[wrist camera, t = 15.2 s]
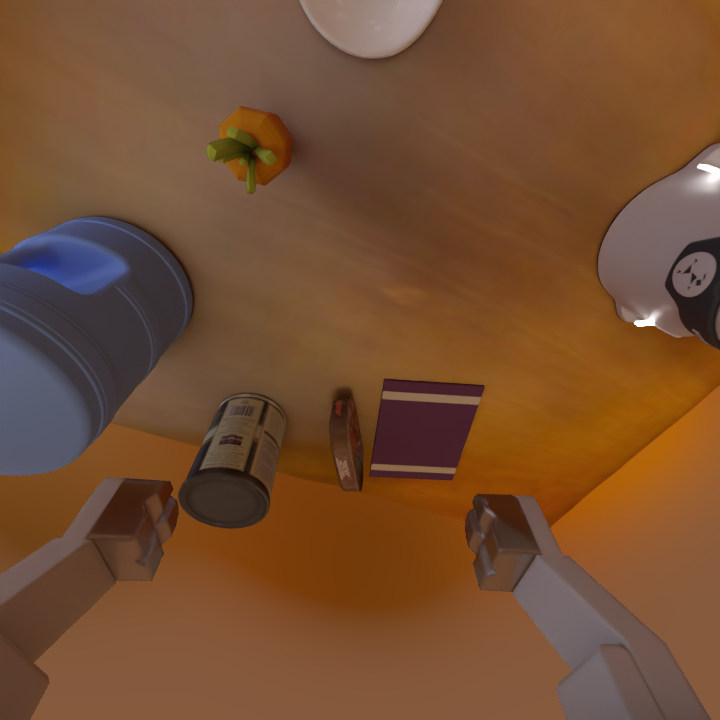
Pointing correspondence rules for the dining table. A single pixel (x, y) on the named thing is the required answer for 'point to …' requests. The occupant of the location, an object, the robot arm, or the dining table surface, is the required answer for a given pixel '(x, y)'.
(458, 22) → the dining table surface
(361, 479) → the tin
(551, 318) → the dining table surface
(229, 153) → the carrot
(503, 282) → the dining table surface
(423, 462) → the cloth
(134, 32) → the dining table surface
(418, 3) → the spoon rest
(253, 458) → the coffee can
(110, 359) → the water jug
